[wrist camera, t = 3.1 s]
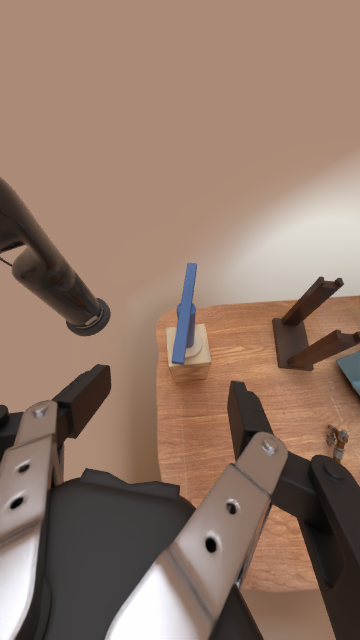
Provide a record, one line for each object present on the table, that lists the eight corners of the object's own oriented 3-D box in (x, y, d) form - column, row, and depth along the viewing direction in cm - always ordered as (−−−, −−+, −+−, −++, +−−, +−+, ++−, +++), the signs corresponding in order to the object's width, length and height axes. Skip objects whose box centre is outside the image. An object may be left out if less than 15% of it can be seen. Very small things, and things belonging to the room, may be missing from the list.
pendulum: (166, 381, 28) (151, 359, 18) (178, 310, 34) (173, 261, 24) (198, 386, 28) (203, 365, 17) (205, 312, 34) (211, 264, 23)
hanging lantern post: (336, 422, 35) (354, 434, 31) (327, 463, 35) (343, 481, 31) (326, 418, 36) (342, 430, 31) (316, 459, 35) (331, 477, 31)
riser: (175, 382, 41) (168, 366, 29) (172, 352, 45) (165, 327, 33) (205, 378, 41) (211, 361, 29) (200, 349, 45) (204, 323, 33)
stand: (278, 367, 42) (326, 338, 27) (272, 320, 48) (309, 275, 33) (310, 371, 41) (379, 343, 26) (300, 322, 47) (351, 277, 32)
